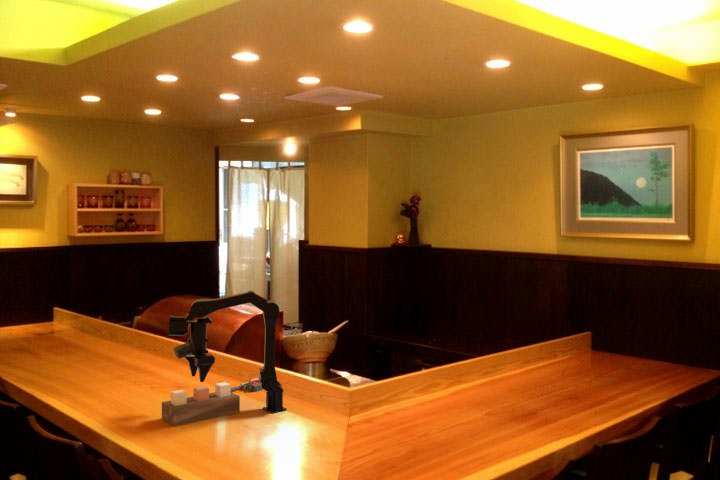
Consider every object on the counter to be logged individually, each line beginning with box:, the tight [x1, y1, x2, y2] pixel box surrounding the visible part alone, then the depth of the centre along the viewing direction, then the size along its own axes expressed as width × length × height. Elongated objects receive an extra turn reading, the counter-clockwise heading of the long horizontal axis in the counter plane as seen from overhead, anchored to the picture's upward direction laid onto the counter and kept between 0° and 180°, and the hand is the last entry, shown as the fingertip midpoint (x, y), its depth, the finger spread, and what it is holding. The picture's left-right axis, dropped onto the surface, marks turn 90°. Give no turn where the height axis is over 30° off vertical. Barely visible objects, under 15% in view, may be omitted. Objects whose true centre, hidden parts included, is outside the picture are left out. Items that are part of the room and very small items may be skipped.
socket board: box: [161, 391, 241, 427], centre depth 246 cm, size 10×25×6 cm, turn 129°
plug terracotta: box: [192, 385, 210, 402], centre depth 246 cm, size 4×4×6 cm
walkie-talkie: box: [231, 377, 263, 393], centre depth 282 cm, size 9×4×20 cm
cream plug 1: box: [170, 389, 187, 406], centre depth 241 cm, size 4×4×6 cm
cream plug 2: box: [214, 381, 232, 397], centre depth 251 cm, size 4×4×6 cm
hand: (197, 379), depth 248 cm, fingers open, 9 cm apart
